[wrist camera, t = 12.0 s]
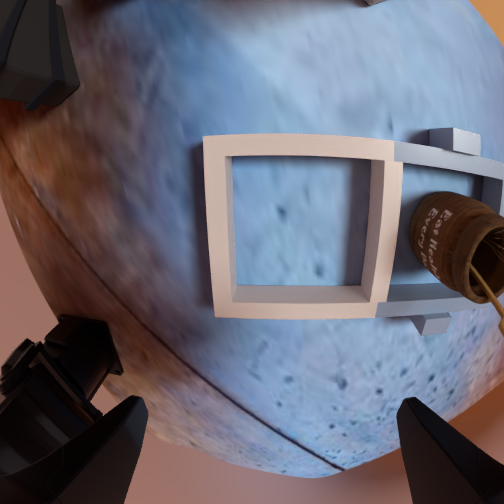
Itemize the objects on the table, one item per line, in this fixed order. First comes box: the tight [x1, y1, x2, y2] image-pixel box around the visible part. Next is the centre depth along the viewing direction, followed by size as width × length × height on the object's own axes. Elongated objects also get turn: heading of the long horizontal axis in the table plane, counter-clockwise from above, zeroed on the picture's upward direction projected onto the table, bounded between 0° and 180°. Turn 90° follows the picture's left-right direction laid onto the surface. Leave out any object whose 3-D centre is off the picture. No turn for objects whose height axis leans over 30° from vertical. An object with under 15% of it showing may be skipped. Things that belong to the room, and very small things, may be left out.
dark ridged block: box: [0, 0, 80, 111], centre depth 9 cm, size 4×13×15 cm, turn 22°
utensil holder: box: [410, 191, 504, 336], centre depth 12 cm, size 6×6×12 cm
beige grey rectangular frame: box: [203, 128, 504, 336], centre depth 17 cm, size 14×22×3 cm, turn 91°
